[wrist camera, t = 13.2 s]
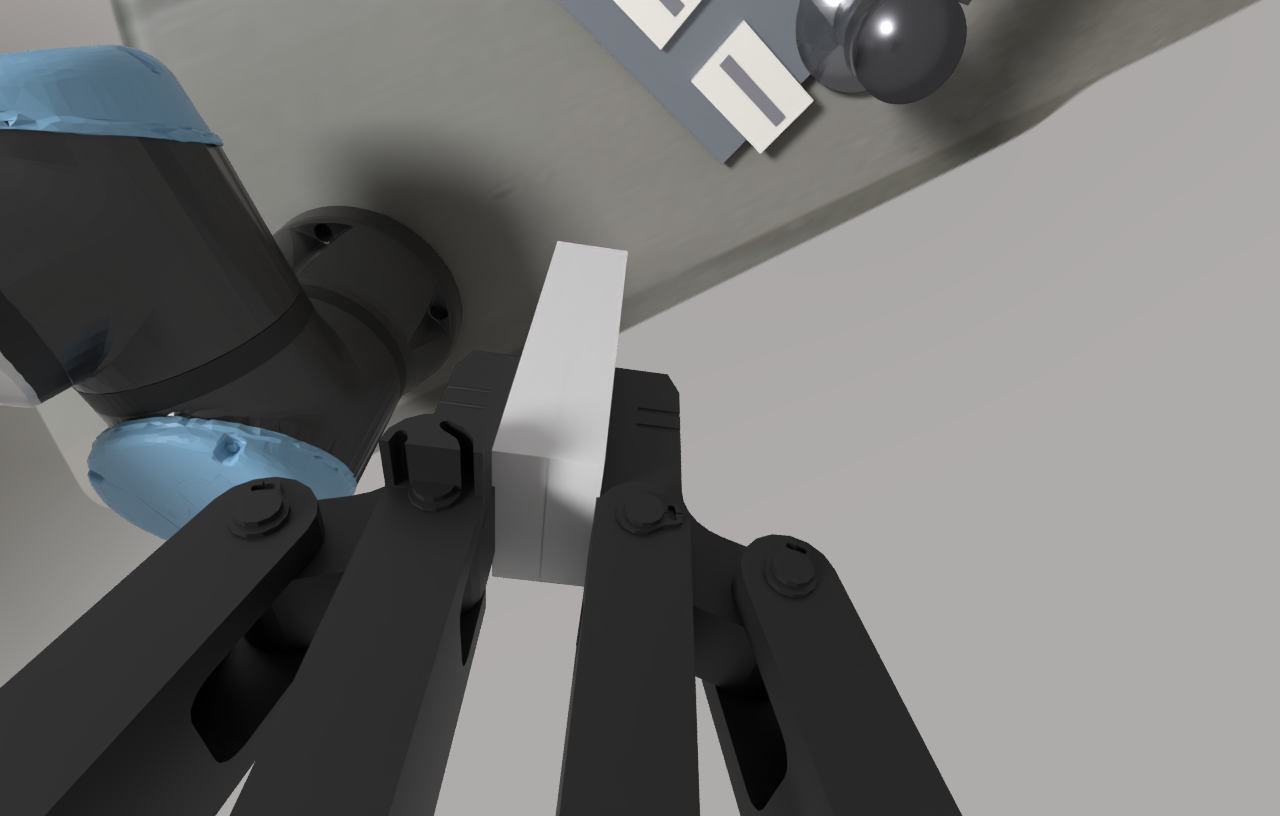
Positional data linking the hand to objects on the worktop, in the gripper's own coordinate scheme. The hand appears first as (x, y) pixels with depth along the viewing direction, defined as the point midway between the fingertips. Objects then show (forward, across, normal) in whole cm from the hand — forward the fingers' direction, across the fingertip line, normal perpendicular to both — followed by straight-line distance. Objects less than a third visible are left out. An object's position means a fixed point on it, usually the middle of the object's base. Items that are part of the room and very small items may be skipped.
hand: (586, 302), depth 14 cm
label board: (+32, +3, +2) cm, 33 cm away
